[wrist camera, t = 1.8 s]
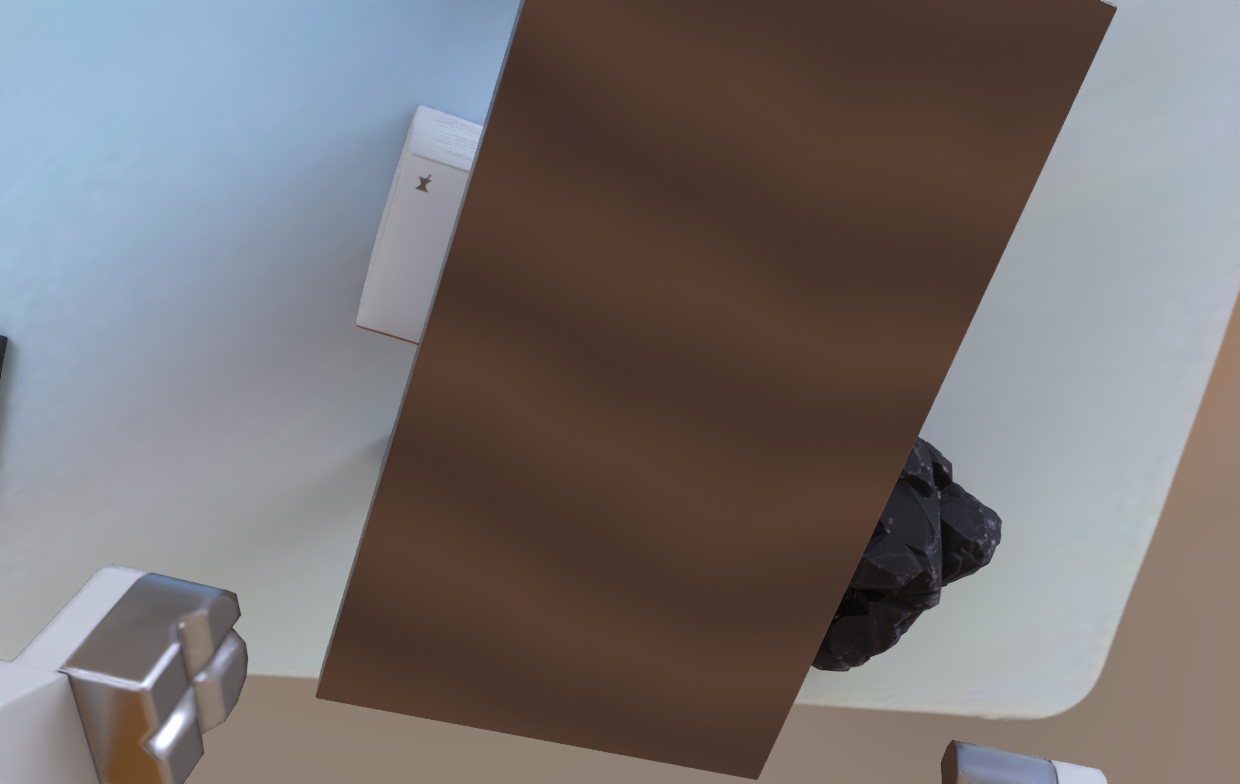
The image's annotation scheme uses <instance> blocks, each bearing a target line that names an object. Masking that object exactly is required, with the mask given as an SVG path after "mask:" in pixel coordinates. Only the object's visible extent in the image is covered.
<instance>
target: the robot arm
mask: <svg viewBox="0 0 1240 784" xmlns="http://www.w3.org/2000/svg"><path fill="white" fill-rule="evenodd" d="M240 616H241V613H240V608H239V603H238V599H237V594H235V593H233V592H230V591H228V590H224V589H219V588H215V587H211V586H207V585H203V584H198V583H194V582H190V581H186V580H181V579H177V578H173V577H169V576H165V575H160V574H156V573H152V572H151V573H150V572H145V571H141V570H137V569H132V568H128V567H123V566H119V565H115V564H111V565H109V566H107V567H105V568H102V569H100V570H98V571H97V572H96V573H95V574H94V575H93V576H92V577H91V578H90V579H89V581H88V582H87V583H86V584H85V585H84V586H83V587H82V588H81V589H80V590H79V591H78V592H77V593H76V594H75V595H74V596H73V598H72V599H71V600H70V601H69V602H68V603H67V604H66V605H65V606H64V607H63V608H62V609H61V610H60V611H59V612H58V613H57V615H56V616H55V617H54V618H53V619H52V620H51V621H50V622H49V623H48V624H47V625H46V626H45V627H44V628H43V629H42V630H41V632H40V633H39V634H38V635H37V636H36V637H35V638H34V639H33V640H32V641H31V642H30V643H29V644H28V645H27V646H26V648H25V649H24V650H23V651H22V652H21V653H20V654H19V655H18V656H17V657H16V658H15V659H14V660H13V661H12V662H10V661H4V660H0V784H184V783H185V781H186V780H187V778H188V777H189V775H190V774H191V772H192V771H193V769H194V767H195V766H196V765H197V763H198V762H199V760H200V759H201V757H202V756H203V754H204V748H203V741H202V734H204V733H206V732H207V731H209V730H211V729H213V728H215V727H217V726H218V725H220V724H222V723H224V722H225V721H226V719H227V717H228V716H229V714H230V713H231V711H232V710H233V708H234V706H235V705H236V703H237V702H238V699H239V696H240V693H241V690H242V688H243V685H244V682H245V679H246V674H247V663H248V655H247V649H246V643H245V641H244V640H243V639H242V638H241V637H240V636H239V635H238V633H237V632H236V631H235V630H234V629H233V628H232V627H233V626H234V624H235V623H236V621H237V620H238V619H239V617H240ZM941 773H942V784H1107V779H1106V778H1105V776H1104V775H1103V773H1102V772H1101V771H1100V770H1098V769H1094V768H1089V767H1083V766H1079V765H1074V764H1069V763H1064V762H1059V761H1055V760H1047V759H1046V758H1042V757H1036V756H1032V755H1027V754H1022V753H1017V752H1011V751H1006V750H1001V749H996V748H991V747H985V746H980V745H976V744H970V743H966V742H960V741H955V740H952V741H951V742H950V744H949V745H948V746H947V748H946V751H945V753H944V756H943V759H942V761H941Z"/></svg>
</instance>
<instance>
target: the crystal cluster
mask: <svg viewBox="0 0 1240 784" xmlns="http://www.w3.org/2000/svg"><path fill="white" fill-rule="evenodd" d="M1001 523H1002V521H1001V519H1000V518H999V516H998V515H997V513H996V512H994V511H993V510H992V509H990V508H988V507H986V506H984V505H983V504H982V503H981V502H980V501H979V500H977V499H976V498H975V497H974V496H972V495H971V494H969V493H967V492H966V491H965V490H964V489H963V488H962V487H961V486H960V485H958V484H956V483H954V482H952V463H951V462H949V461H948V460H947V459H946V458H944V457H943V456H942V454H941V452H939V451H938V450H937V449H935V448H934V447H933V446H932V445H931V444H930V443H928V442H926V441H924V440H923V439H921V438H919V437H917V439H916V441H915V443H914V445H913V448H912V450H911V452H910V454H909V456H908V458H907V460H906V463H905V465H904V467H903V469H902V471H901V473H900V475H899V478H898V480H897V482H896V484H895V486H894V488H893V490H892V493H891V495H890V497H889V499H888V501H887V503H886V505H885V508H884V510H883V512H882V514H881V516H880V518H879V520H878V523H877V525H876V527H875V529H874V531H873V533H872V535H871V538H870V540H869V542H868V544H867V546H866V548H865V550H864V553H863V555H862V557H861V559H860V561H859V563H858V565H857V568H856V570H855V572H854V574H853V576H852V578H851V581H850V583H849V585H848V587H847V589H846V591H845V593H844V596H843V598H842V600H841V602H840V604H839V606H838V608H837V611H836V613H835V615H834V617H833V619H832V621H831V623H830V626H829V628H828V630H827V632H826V634H825V636H824V638H823V641H822V643H821V645H820V647H819V649H818V651H817V653H816V656H815V658H814V660H813V662H812V664H811V666H813V667H815V668H817V669H819V670H827V671H842V672H843V671H848V670H849V669H850V668H851V667H858V666H861V665H863V664H864V663H865V662H867V661H868V660H869V659H870V657H872V656H875V655H878V654H881V653H883V652H885V651H886V650H888V649H889V648H891V647H892V646H894V645H895V644H896V643H897V642H898V640H899V639H900V637H901V635H902V634H904V633H906V632H907V630H908V629H909V627H910V626H911V625H912V624H913V623H914V621H915V620H916V619H917V618H918V617H919V616H920V614H921V613H922V612H923V611H925V610H928V609H930V608H932V607H934V606H936V605H938V604H939V600H940V593H941V587H944V586H947V584H948V583H951V582H954V581H956V580H958V579H960V578H963V577H965V576H968V575H971V574H974V573H975V572H976V571H978V570H979V569H980V568H981V567H983V566H985V565H987V564H989V562H990V561H991V558H992V556H993V553H994V551H995V548H996V546H997V545H998V544H1000V540H1001V531H1000V530H1001Z"/></svg>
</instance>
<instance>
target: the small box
mask: <svg viewBox="0 0 1240 784" xmlns="http://www.w3.org/2000/svg"><path fill="white" fill-rule="evenodd" d="M482 129H483V126H481V125H479V124H476V123H473V122H470V121H467V120H464V119H462V118H459V117H456V116H453V115H450V114H447V113H444V112H441V111H438V110H435V109H432V108H429V107H426V106H423V105H418V106H417V108H416V110H415V113H414V116H413V119H412V122H411V124H410V128H409V131H408V134H407V137H406V140H405V143H404V146H403V149H402V153H401V156H400V159H399V162H398V165H397V168H396V172H395V175H394V178H393V181H392V185H391V188H390V192H389V195H388V198H387V202H386V205H385V209H384V212H383V215H382V219H381V222H380V226H379V229H378V233H377V236H376V240H375V244H374V248H373V252H372V255H371V259H370V263H369V268H368V272H367V276H366V280H365V284H364V288H363V292H362V296H361V301H360V305H359V310H358V315H357V323H356V325H357V326H358V327H360V328H363V329H367V330H370V331H373V332H377V333H380V334H383V335H387V336H390V337H394V338H397V339H401V340H404V341H407V342H411V343H414V344H418V343H419V340H420V336H421V333H422V330H423V326H424V323H425V319H426V316H427V313H428V309H429V306H430V303H431V299H432V296H433V293H434V289H435V286H436V283H437V279H438V276H439V273H440V269H441V266H442V263H443V259H444V256H445V253H446V249H447V246H448V243H449V239H450V236H451V233H452V229H453V226H454V222H455V219H456V216H457V212H458V209H459V206H460V202H461V199H462V196H463V192H464V189H465V186H466V182H467V179H468V176H469V172H470V169H471V166H472V162H473V159H474V156H475V152H476V149H477V146H478V142H479V139H480V135H481V132H482Z"/></svg>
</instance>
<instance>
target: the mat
mask: <svg viewBox="0 0 1240 784" xmlns="http://www.w3.org/2000/svg"><path fill="white" fill-rule="evenodd" d="M6 342H7V337H5V336H1V335H0V377H1V371H2V365H3V359H4V354H5V348H6Z"/></svg>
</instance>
